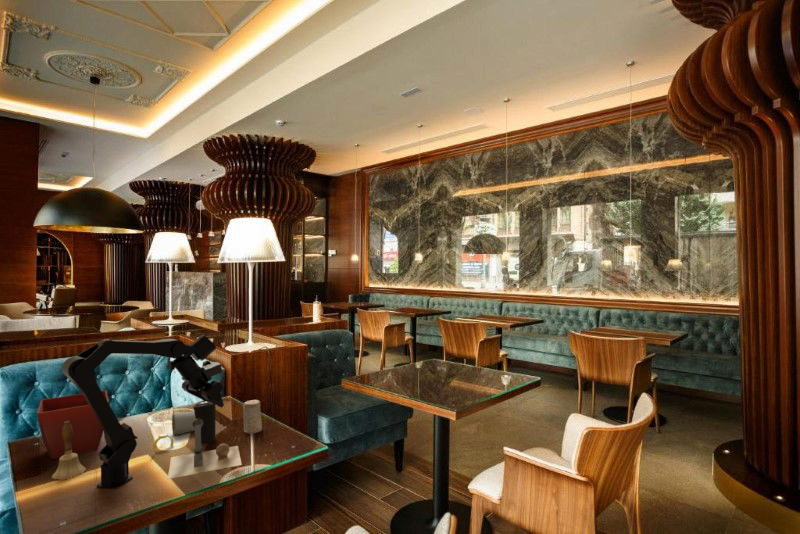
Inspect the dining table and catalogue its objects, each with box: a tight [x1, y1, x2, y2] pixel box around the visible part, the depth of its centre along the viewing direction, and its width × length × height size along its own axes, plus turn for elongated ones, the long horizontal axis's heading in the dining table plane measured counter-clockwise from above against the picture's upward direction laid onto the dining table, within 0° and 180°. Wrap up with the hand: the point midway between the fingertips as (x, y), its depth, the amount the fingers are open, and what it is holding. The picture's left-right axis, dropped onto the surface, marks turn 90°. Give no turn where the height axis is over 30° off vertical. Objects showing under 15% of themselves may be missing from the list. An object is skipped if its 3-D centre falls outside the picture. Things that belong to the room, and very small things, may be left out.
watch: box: [152, 433, 174, 452], centre depth 148 cm, size 6×3×6 cm, turn 139°
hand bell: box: [51, 421, 87, 480], centre depth 134 cm, size 8×8×16 cm
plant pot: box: [36, 390, 110, 460], centre depth 152 cm, size 19×19×17 cm
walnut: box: [215, 443, 230, 460], centre depth 139 cm, size 4×4×4 cm
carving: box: [242, 399, 263, 435], centre depth 162 cm, size 6×8×12 cm
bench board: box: [167, 445, 242, 480], centre depth 137 cm, size 20×16×5 cm
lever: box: [192, 418, 203, 454], centre depth 136 cm, size 3×4×12 cm
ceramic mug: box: [171, 411, 196, 436], centre depth 167 cm, size 11×8×8 cm
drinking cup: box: [192, 400, 217, 444], centre depth 154 cm, size 8×8×20 cm
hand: (215, 403), depth 150 cm, fingers open, 9 cm apart
